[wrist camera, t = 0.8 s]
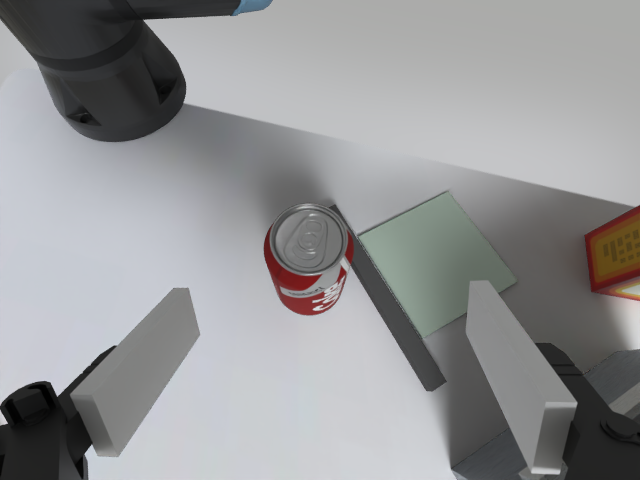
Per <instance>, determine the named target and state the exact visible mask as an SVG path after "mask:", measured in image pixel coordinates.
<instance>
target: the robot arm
mask: <svg viewBox="0 0 640 480" xmlns="http://www.w3.org/2000/svg"><path fill="white" fill-rule="evenodd" d="M271 2H272V0H0V19H1V21H2V22H3V23H4V24H5V25H6V26H7V28H8V29H9V30H10V31H11V32H12V33H13V35H14V36H15V37H16V38H17V39H18V41H19V42H20V43H21V44H22V45H23V46H24V47H25V48H26V50H27V51H28V52H29V53H30V54H31V56H32V57H33V58H34V59H35V61H36V62H37V64H38V66H39V68H40V71H41V73H42V76H43V78H44V81H45V83H46V85H47V88H48V90H49V93H50V95H51V98H52V100H53V102H54V105H55V107H56V108H57V110H58V111H59V113H60V114H61V115H62V116H63V118H64V119H65V120H66V121H67V122H68V123H69V124H70V125H71V126H72V127H73V128H74V129H75V130H76V131H77V132H79V133H80V134H82V135H84V136H86V137H89V138H91V139H95V140H99V141H106V142H121V141H128V140H133V139H137V138H140V137H143V136H146V135H148V134H150V133H152V132H154V131H156V130H158V129H160V128H161V127H163V126H164V125H165V124H167V123H168V122H169V121H170V120H171V119H172V118H173V117H174V116H175V115H176V114H177V112H178V111H179V109H180V108H181V106H182V104H183V102H184V99H185V95H186V82H185V78H184V76H183V74H182V71H181V68H180V66H179V64H178V62H177V60H176V59H175V57H174V55H173V54H172V53H171V52H170V51H169V50H168V48H167V47H166V46H165V45H164V44H163V43H162V42H161V40H160V39H159V38H158V37H157V36H156V35H155V34H154V32H153V31H152V30H151V29H150V28H149V27H148V25H147V24H146V23H145V22H144V21H143V20H145V19H163V18H164V19H166V18H186V17H206V16H227V15H230V16H236V15H238V14H240V13H244V12H252V11H259V10H263V9H265V8H266V7H268V6H269V5H270V4H271ZM466 335H467V337H468V339H469V341H470V343H471V345H472V348H473V350H474V352H475V354H476V356H477V358H478V360H479V362H480V365H481V367H482V369H483V371H484V373H485V375H486V377H487V380H488V382H489V384H490V386H491V388H492V390H493V392H494V395H495V397H496V399H497V401H498V403H499V405H500V407H501V410H502V412H503V414H504V416H505V418H506V420H507V422H508V424H509V427H510V429H511V431H512V433H513V435H514V437H515V439H516V442H517V444H518V446H519V448H520V450H521V452H522V454H523V457H524V459H525V461H526V463H527V465H528V467H529V469H530V472H531V473H536V474H560V471H561V467H562V463H563V461H564V462H565V464H566V466H567V468H568V470H567V473H566V476H565V478H564V480H640V425H639V424H638V423H637V422H635V421H634V420H632V419H630V418H628V417H626V416H624V415H622V414H619V413H616V412H613V411H612V410H611V408H610V407H609V406H608V405H607V404H606V402H605V401H604V400H603V399H602V397H601V396H600V395H599V394H598V393H597V391H596V390H595V389H594V388H593V387H592V385H591V384H590V383H589V382H588V380H587V379H586V378H585V377H584V376H582V373H581V372H580V371H579V370H578V368H577V367H575V366H574V363H573V362H572V361H571V360H570V359H569V357H568V356H567V355H566V354H565V353H564V352H563V351H561V350H560V349H558V348H557V347H555V346H554V345H552V344H551V343H534V342H533V341H532V340H531V338H530V337H529V335H528V334H527V333H526V331H525V330H524V329H523V327H522V326H521V324H520V323H519V322H518V320H517V319H516V318H515V316H514V315H513V314H512V312H511V311H510V309H509V308H508V307H507V305H506V304H505V303H504V301H503V300H502V298H501V297H500V296H499V294H498V293H497V292H496V290H495V289H494V287H493V286H492V285H491V283H490V282H489V281H488V280H481V281H470V286H469V298H468V310H467V322H466ZM199 336H200V332H199V328H198V324H197V320H196V316H195V312H194V308H193V304H192V300H191V296H190V292H189V288H173V289H172V290H171V291H170V292H169V293H168V294H167V296H166V297H165V298H164V299H163V300H162V301H161V302H160V303H159V304H158V305H157V306H156V307H155V308H154V309H153V310H152V311H151V312H150V313H149V314H148V315H147V316H146V317H145V318H144V319H143V320H142V321H141V322H140V323H139V324H138V325H137V326H136V327H135V328H134V329H133V330H132V331H131V332H130V333H129V334H128V335H127V336H126V337H125V338H124V339H123V341H122V342H121V343H120V344H119V345H118V346H113V347H111V348H109V349H108V350H106V351H105V352H103V353H102V354H100V355H99V356H98V357H97V358H96V359H95V360H94V361H93V362H92V363H91V366H88V367H87V368H86V369H85V370H84V371H83V374H80V375H79V376H78V377H77V378H76V379H75V380H74V381H73V382H72V383H71V384H70V385H69V386H68V387H67V388H66V389H65V390H64V391H63V392H62V393H61V394H60V395H59V396H58V397H57V395H56V393H55V391H54V389H53V387H52V385H51V383H50V382H47V381H40V382H35V383H32V384H28V385H26V386H24V387H22V388H20V389H18V390H17V391H15V392H14V393H12V394H11V395H9V396H8V397H7V398H6V399H5V400H4V401H3V402H2V404H1V406H0V410H1V412H2V414H3V415H4V417H5V419H6V421H7V422H8V424H5V425H1V426H0V480H88V462H87V459H86V457H85V455H84V454H85V452H86V451H87V450H88V448H89V447H90V446H91V444H92V445H93V447H94V449H95V451H96V454H97V456H106V457H119V455H120V454H121V452H122V451H123V449H124V448H125V446H126V445H127V443H128V442H129V440H130V439H131V437H132V436H133V434H134V433H135V431H136V430H137V428H138V427H139V425H140V424H141V422H142V421H143V419H144V418H145V416H146V415H147V413H148V412H149V410H150V409H151V408H152V406H153V405H154V403H155V402H156V400H157V399H158V397H159V396H160V394H161V393H162V391H163V390H164V388H165V387H166V385H167V384H168V382H169V381H170V379H171V378H172V376H173V375H174V373H175V372H176V370H177V369H178V367H179V366H180V364H181V363H182V361H183V360H184V358H185V357H186V355H187V354H188V352H189V351H190V349H191V348H192V346H193V345H194V343H195V342H196V340H197V339H198V337H199Z"/></svg>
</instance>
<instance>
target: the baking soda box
mask: <svg viewBox="0 0 640 480" xmlns="http://www.w3.org/2000/svg"><path fill="white" fill-rule="evenodd" d="M585 242H586V251H587V259H588V267H589V276H590V284H591V292H594V293H600V294H605V295H610V296H616V297H621V298H627V299H632V300H637V301H640V205H639V206H637V207H635V208H634V209H632V210H630V211H628V212H626V213H624V214H623V215H621V216H619V217H617V218H615V219H613V220H612V221H610V222H608V223H606V224H604V225H602V226H601V227H599V228H597V229H595V230H593V231H591V232H590V233H588V234H586V235H585Z"/></svg>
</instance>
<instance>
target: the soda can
mask: <svg viewBox="0 0 640 480" xmlns="http://www.w3.org/2000/svg"><path fill="white" fill-rule="evenodd" d="M353 254H354V244H353V239H352V235H351V233H350V231H349V229H348V227H347V226H346V224H345V223H344V222H343V221H342V219H341V218H340V217H339V216H338V215H337V214H336V213H335V212H334V211H333V210H331V209H330V208H328V207H326V206H323V205H320V204H315V203H303V204H298V205H295V206H292V207H290V208H288V209H286V210H285V211H284V212H282V213H281V214H280V215H279V216H278V217H277V219H276V220H275V222H274V223H273V224H272V226H271V227H270V229H269V230H268V232H267V235H266V238H265V242H264V257H265V261H266V264H267V267H268V269H269V272H270V275H271V278H272V280H273V283H274V286H275V289H276V291H277V294H278V296H279V298H280V300H281V302H282V303H283V304H284V305H285V306H286V307H287V308H288V309H290V310H291V311H293V312H295V313H297V314H301V315H317V314H321V313H323V312H325V311H327V310H329V309H330V308H331V307H332V306H333V305H334V304H335V303H336V302H337V301H338V299H339V297H340V295H341V293H342V290H343V287H344V284H345V281H346V278H347V275H348V272H349V269H350V266H351V263H352V259H353Z"/></svg>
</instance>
